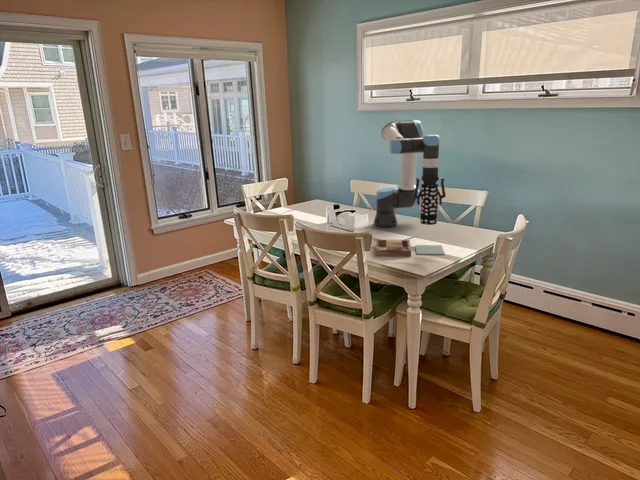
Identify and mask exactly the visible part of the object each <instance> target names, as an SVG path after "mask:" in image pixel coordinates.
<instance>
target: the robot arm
mask: <svg viewBox="0 0 640 480" xmlns="http://www.w3.org/2000/svg"><path fill="white" fill-rule="evenodd" d="M421 122H422V121H420V120H418V119H407V120H393V121H390V122H388V123H386V124H385V125H384V126H383V127H382V130H381V138H382V139H383V140H384V141H385V142H387V143H389V145H388V146H389V152H390V154H391V155H392V154H393V155H394V154H395V155H398V154H400V155H401V169H400V170H401V171H400V174H401V175H400V185H398V187H397V188H398V189H396V188H395V187H383V188H380V189H378V190H377V191H376V195H375V200H376V201H375V202H376V209H375V210H376V211H375V216H374V220H373V226H374V227H377V228H384V229H385V228H386V229H387V228H389V229H391V228H394V227H396V226H398V218H397V216H396V210H395V209H413V208H416V207H419V208H418V211H419V212H420V213H421V195H422V189H421V188H420V189H419V186H420V183H421V181H422V182H423V184H424V185H436V184H437V182H438V180H439V182H440V186H441V187H440V188H441V192H442V193H441V192H440V190H439V189H438V206H437V212H440V205H442V204H443V203H442V201H443V200H442V199H444V198H446V195H447V194H446V191H445V184H444V183H445V182H444V181H445V178H444V177H440V176H439V167H438V166H439V154H440V153H439V152H440V135H438V134H425V135H424V130H423V129H424V128H423V125H422V123H421ZM420 153H421V154H422V155H423V156H422V166H423V167H422V176H421V177H416V167H417V154H420Z"/></svg>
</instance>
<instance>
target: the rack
mask: <svg viewBox="0 0 640 480" xmlns="http://www.w3.org/2000/svg"><path fill="white" fill-rule="evenodd" d="M379 246H381V247H382V246H383V247H384V246H385V247H386V239H375V257H412V247H411V241H410V239H402V246H403V247H407V248H406V249H403V250H386V249H379Z"/></svg>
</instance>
